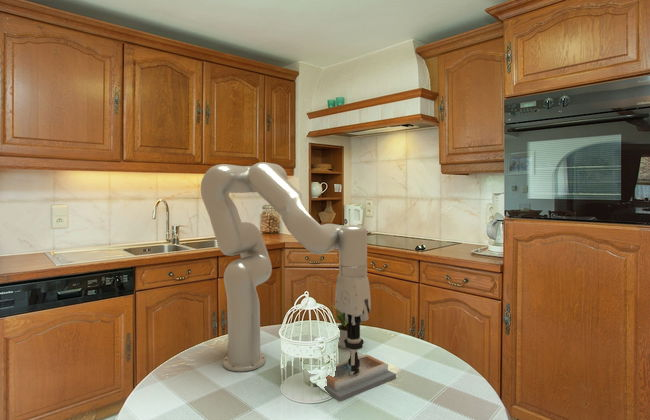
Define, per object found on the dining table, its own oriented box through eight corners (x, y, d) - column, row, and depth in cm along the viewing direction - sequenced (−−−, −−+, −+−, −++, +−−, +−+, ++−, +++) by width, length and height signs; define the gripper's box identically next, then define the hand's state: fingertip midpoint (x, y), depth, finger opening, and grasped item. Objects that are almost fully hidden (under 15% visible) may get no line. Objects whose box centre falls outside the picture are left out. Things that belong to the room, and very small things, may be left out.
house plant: (372, 356, 124) (372, 304, 123) (328, 355, 124) (328, 304, 123) (368, 338, 138) (368, 292, 137) (328, 338, 138) (328, 292, 137)
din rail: (316, 378, 106) (316, 370, 106) (366, 361, 117) (366, 354, 117) (337, 392, 99) (337, 383, 99) (388, 372, 110) (388, 364, 110)
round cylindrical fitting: (361, 380, 104) (361, 343, 104) (341, 378, 106) (341, 341, 105) (365, 369, 111) (365, 334, 110) (346, 367, 112) (346, 333, 112)
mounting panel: (309, 381, 107) (309, 377, 107) (363, 362, 119) (363, 358, 119) (339, 401, 97) (339, 396, 97) (395, 378, 109) (395, 373, 109)
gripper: (325, 268, 111) (326, 333, 111) (361, 277, 99) (361, 349, 99) (346, 265, 115) (346, 327, 116) (382, 273, 103) (383, 342, 104)
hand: (353, 337), depth 108 cm, fingers closed
